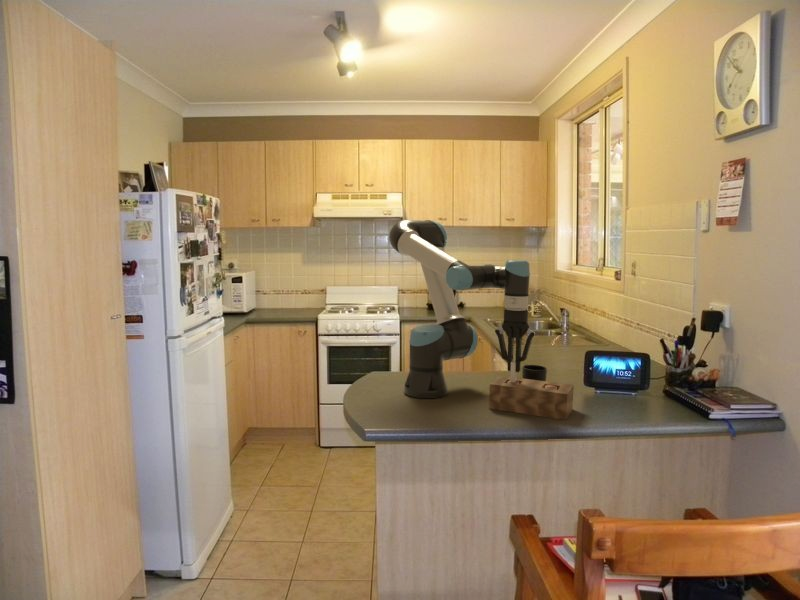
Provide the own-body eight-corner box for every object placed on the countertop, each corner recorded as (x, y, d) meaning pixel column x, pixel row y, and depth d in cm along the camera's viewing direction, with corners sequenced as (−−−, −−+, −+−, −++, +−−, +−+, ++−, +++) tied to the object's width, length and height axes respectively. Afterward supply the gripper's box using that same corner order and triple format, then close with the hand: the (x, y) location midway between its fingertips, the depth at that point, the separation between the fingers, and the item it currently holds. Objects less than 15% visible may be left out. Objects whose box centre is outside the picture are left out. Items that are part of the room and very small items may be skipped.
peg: (542, 410, 176) (544, 387, 175) (545, 407, 179) (546, 384, 178) (554, 412, 174) (555, 388, 173) (556, 409, 178) (557, 386, 177)
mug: (536, 387, 204) (537, 362, 203) (549, 397, 193) (550, 370, 192) (514, 388, 203) (515, 362, 202) (526, 397, 192) (527, 370, 190)
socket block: (489, 408, 179) (489, 384, 178) (499, 398, 190) (500, 375, 189) (566, 420, 169) (567, 394, 168) (572, 409, 180) (573, 384, 179)
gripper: (492, 308, 178) (490, 381, 180) (534, 311, 172) (531, 386, 175) (499, 306, 184) (497, 376, 187) (539, 308, 179) (536, 381, 181)
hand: (513, 381), depth 181 cm, fingers closed
